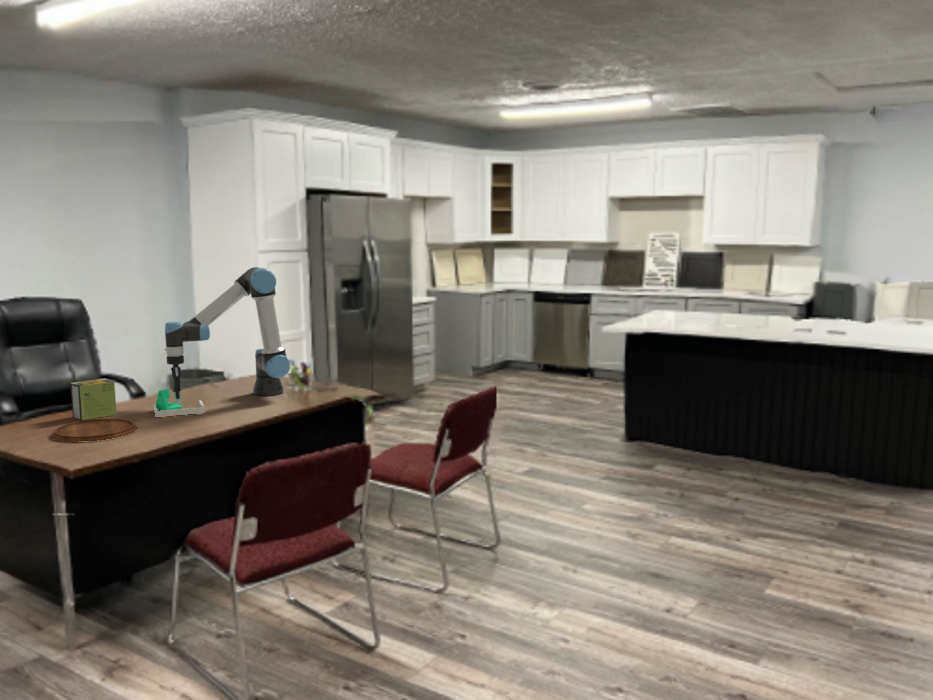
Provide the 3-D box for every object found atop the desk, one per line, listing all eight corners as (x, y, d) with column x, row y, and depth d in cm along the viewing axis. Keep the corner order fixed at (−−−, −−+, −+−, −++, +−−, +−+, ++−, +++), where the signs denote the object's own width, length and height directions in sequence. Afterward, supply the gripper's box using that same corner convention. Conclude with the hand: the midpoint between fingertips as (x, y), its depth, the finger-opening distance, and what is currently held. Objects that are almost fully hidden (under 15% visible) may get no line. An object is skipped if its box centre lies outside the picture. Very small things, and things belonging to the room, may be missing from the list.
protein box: (117, 414, 349) (115, 381, 347) (81, 420, 338) (79, 385, 335) (107, 411, 356) (104, 378, 354) (72, 417, 345) (69, 382, 342)
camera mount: (183, 412, 356) (182, 390, 354) (166, 414, 350) (165, 392, 349) (171, 407, 364) (170, 386, 363) (155, 410, 359) (154, 388, 357)
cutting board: (134, 420, 340) (134, 415, 339) (141, 438, 312) (140, 431, 311) (52, 428, 325) (51, 423, 325) (50, 447, 297) (50, 441, 297)
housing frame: (201, 406, 367) (201, 400, 366) (205, 413, 352) (204, 407, 351) (153, 410, 358) (153, 403, 358) (155, 418, 343) (154, 411, 343)
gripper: (165, 353, 364) (168, 402, 367) (167, 357, 352) (170, 408, 356) (182, 352, 367) (185, 401, 370) (184, 356, 355) (187, 407, 359)
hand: (177, 405), depth 363 cm, fingers closed
